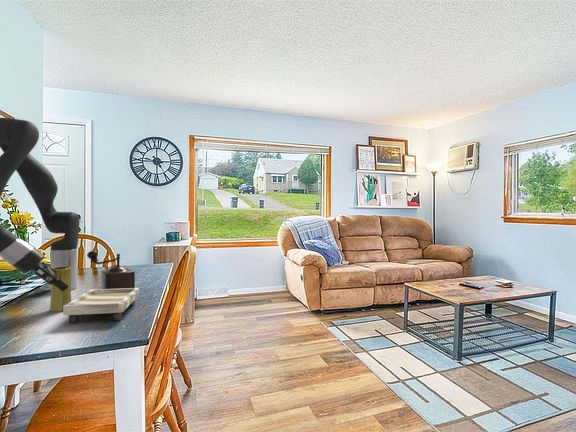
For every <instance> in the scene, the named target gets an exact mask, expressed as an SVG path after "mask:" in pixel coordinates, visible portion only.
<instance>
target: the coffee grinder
mask: <svg viewBox="0 0 576 432" xmlns="http://www.w3.org/2000/svg"><path fill="white" fill-rule="evenodd" d="M98 255H99V253H98V251H97V250H90V251H88V253H87V254H86V256H87V258H88V259H89V260H90V263H91V264H92V263H93V264H96V265H103V264H107V263H112V262H115V261H116V264H115V265H113V266H112V267H111V268H109V269H106V270H101V271H100V273H101V277H100V278H101V279H100V285H101V287H100V289H121V288H136V287H135V285H136V284H135V283H136V278H135V277H136V273H135V271H134V270H132V269H131V268H129V267H125V266H122V265H120V259H121V257H120V256H121V255H120V253H117V254H116V257H115V258H113V259H108V260H104V261H103V260H102V261H99V259H98Z"/></svg>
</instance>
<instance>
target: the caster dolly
mask: <svg viewBox="0 0 576 432" xmlns="http://www.w3.org/2000/svg"><path fill="white" fill-rule="evenodd" d="M139 295H140V287H135V288H121V289H101V288H100V289H99V288H97V289H94V288H93V289H89V290H88V291H86V292H85V293H83V294H81V295H79V296H78V297H76V298H75V299H73V300H71V302H70V303H68V304H66V305H65V306H63V311H62V316H68V323H69V324H76V323H77V324H78V322H79V320H80V315H94V314H95V315H97V314H99V315H100V314H113V316H112V319H113V320H112V321H121V320H122V316H123V313H124V312H125V310H126V309H127V308H129V306H134V305H135V303H136V299H137V298H138V297H139Z"/></svg>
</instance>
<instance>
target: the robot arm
mask: <svg viewBox="0 0 576 432" xmlns="http://www.w3.org/2000/svg"><path fill="white" fill-rule="evenodd" d="M39 139H40V131H39V128H38V126H37V125H36V124H34V123H33V122H31V121H30V120H29V121H28V120H25V119H19V118H11V117H0V149H1V150H2V152H3V153H2V154H0V197H1V196H2V193H3V192H4V191H5V188H6V186H7V184H8V182H9V181H10V179H11V177H12V176H13V174H14V173H15V172H17V174H18V176H19V177H20V180H21V181H22V183H23V186H25V188H26V191H27V192H28V193H29V195H30V196H31V199H32V200H33V201H34V203H35V205H36V207H37V209H38V212H39V214H40V216H41V219H42V221H43V224H44V225H45V229H47V230H48V231H49V232H50V233H52V234H64V236H63V238H62V239H59V240H57V241H54V242H52V243H50V252H49V253H50V254H49V255H50V257H49V258H50V262H49V263H50V265H49V264H48V263H45V262H44V261H43V260H44V259H45V254H44V253H42V252H41V251H39V250H38V249H37V248H35V247H34V246H32V245H31V244H30V243H28V242H27V241H25V240H24V239H21V238H20V237H18V236H17V235H16V234H15V233H13V232H12V231H10V230H9V229H7V228H6V227H4V226H3V225H2V224H1V223H0V258H1V259H2V260H4V262H7V264H9V265H10V266H12V267H14V268H15V269H17V270H18V271H20V273H22V274H27V273H29V272H30V271H31V270H33V271H34V275H36V276H37V277H38V278H40V279H42V281H44V282H46V283H47V284H48V285H49V291H50V292H51V285H54V286H56V287H57V288H59V289H60V290H62V291H64V290H66V289H67V288H68V285H67V284H65V283H64V282H63V281H61V280H60V279H59V278H58V277H56V276H55V275H56V273H54V272H53V271H52V268H55V267H71V291H73V290H75V289H76V288H77V282H78V279H77V278H78V277H77V276H78V275H77V274H78V273H77V272H78V270H77V269H78V242H79V236H80V235H79V233H80V216H79V215H78V213H76V212H71V211H57V210H56V208H55V206H54V201H55V199H56V196H57V194H58V190H59V189H58V184H57V182H56V180H55V177H54V176H53V174H52V172H51V171H50V170H49V168H48V167H46V166H45V165H44V164H43V163H41V161H39V160H38V159H37V158H35V157H34V156H33V155H32V154H31V152H32V150H33V149H34V148H35V147H36V145H37V144H38V142H39ZM52 277H53V278H52Z"/></svg>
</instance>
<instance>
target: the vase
mask: <svg viewBox="0 0 576 432" xmlns="http://www.w3.org/2000/svg"><path fill="white" fill-rule="evenodd" d="M52 271H53V272H54V273H56V275H55V276H56V277H58V278H59V279H60V280H61V281H63V282H64V283H65V284H67V285H68V288H67V289H66V290H64V291H62V290H60V289H59V288H57V287H56V286H54V285H51V291H50V306H49V311H50V312H52V313H59V312H60V313H61V312H63V306H65V305H66V304H68V303H70V302H71V301H72V290H71V267H55V268H52ZM52 278H53V277H52Z"/></svg>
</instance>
